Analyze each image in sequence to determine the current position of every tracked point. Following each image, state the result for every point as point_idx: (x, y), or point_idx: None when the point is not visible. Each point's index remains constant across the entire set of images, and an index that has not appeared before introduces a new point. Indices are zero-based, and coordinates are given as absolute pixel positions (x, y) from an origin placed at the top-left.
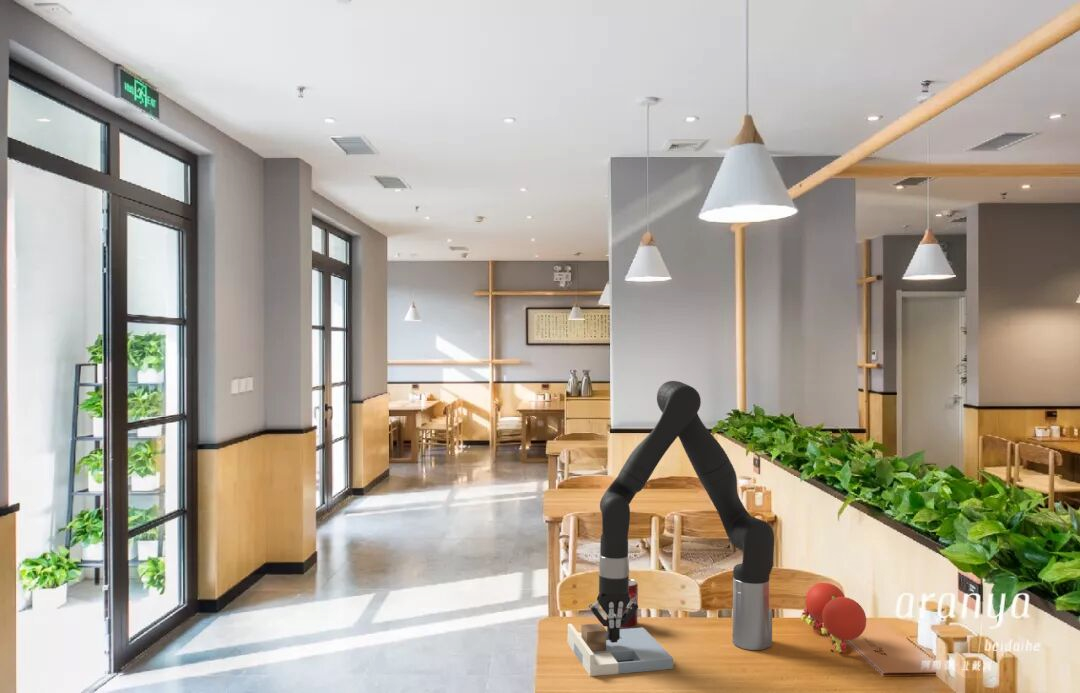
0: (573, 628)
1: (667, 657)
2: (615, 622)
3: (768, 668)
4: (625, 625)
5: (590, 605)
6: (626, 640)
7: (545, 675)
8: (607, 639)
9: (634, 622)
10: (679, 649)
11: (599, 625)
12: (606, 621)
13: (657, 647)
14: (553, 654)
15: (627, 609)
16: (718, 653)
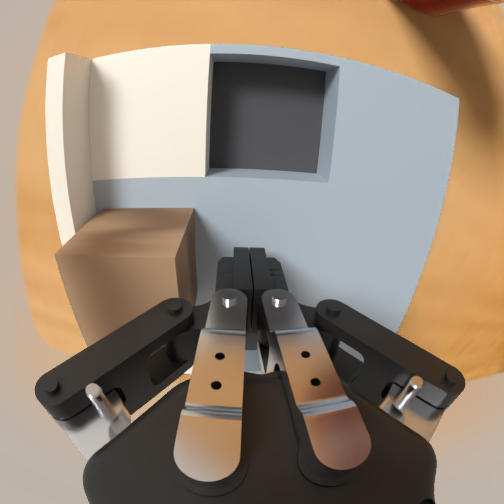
0: (56, 131)
1: None
2: (260, 351)
3: (487, 342)
4: (409, 2)
5: (46, 409)
6: (335, 209)
7: (32, 309)
8: (285, 68)
9: (446, 13)
10: (463, 238)
11: (160, 290)
12: (194, 358)
13: (398, 299)
14: (35, 179)
15: (387, 374)
16: (495, 279)
